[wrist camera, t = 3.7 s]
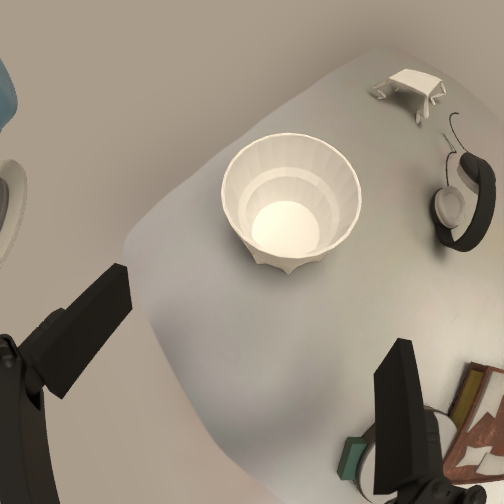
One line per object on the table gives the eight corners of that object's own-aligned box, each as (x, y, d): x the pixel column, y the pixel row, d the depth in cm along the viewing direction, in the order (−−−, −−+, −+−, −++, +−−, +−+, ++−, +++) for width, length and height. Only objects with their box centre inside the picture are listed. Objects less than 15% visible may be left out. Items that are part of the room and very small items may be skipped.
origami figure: (407, 135, 32) (420, 112, 28) (368, 93, 35) (376, 69, 30) (451, 115, 33) (464, 95, 29) (416, 79, 36) (426, 58, 31)
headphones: (444, 150, 35) (458, 270, 26) (420, 140, 35) (427, 260, 27) (472, 102, 26) (512, 225, 17) (445, 88, 26) (479, 208, 18)
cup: (350, 256, 29) (385, 222, 19) (261, 299, 28) (257, 283, 19) (306, 176, 31) (317, 118, 22) (221, 212, 31) (202, 161, 21)
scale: (327, 498, 22) (332, 512, 19) (355, 403, 25) (364, 411, 22) (428, 490, 20) (439, 499, 17) (456, 402, 23) (471, 406, 20)
